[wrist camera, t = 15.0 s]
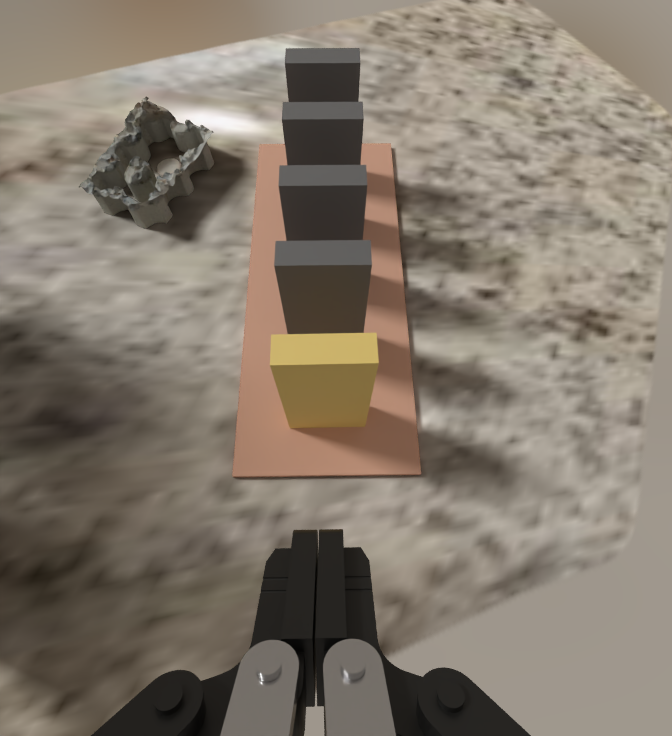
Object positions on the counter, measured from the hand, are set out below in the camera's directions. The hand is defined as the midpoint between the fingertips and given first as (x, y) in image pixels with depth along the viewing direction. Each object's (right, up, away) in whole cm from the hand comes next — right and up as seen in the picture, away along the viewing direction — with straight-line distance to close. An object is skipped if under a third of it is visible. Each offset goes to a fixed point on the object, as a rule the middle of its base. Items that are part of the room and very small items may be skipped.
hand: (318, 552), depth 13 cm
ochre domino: (0, +2, +16) cm, 17 cm away
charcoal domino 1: (0, +22, +25) cm, 34 cm away
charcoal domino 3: (0, +12, +21) cm, 24 cm away
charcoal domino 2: (0, +17, +23) cm, 29 cm away
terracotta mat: (0, +12, +21) cm, 25 cm away
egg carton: (-15, +22, +26) cm, 37 cm away
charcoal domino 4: (0, +7, +19) cm, 20 cm away
